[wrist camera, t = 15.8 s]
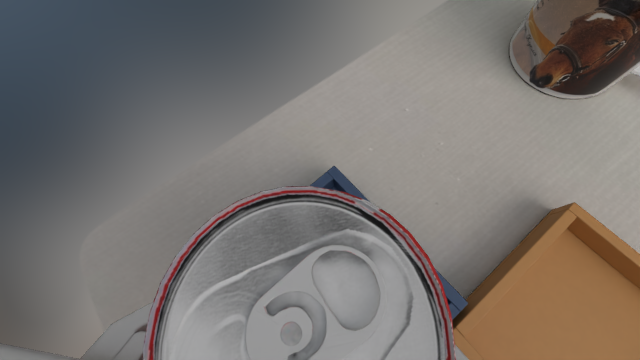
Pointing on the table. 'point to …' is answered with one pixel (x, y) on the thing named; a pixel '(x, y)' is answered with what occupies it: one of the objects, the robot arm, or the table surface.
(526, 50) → the mug
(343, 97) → the table surface
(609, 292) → the oak tray
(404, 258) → the beverage can
